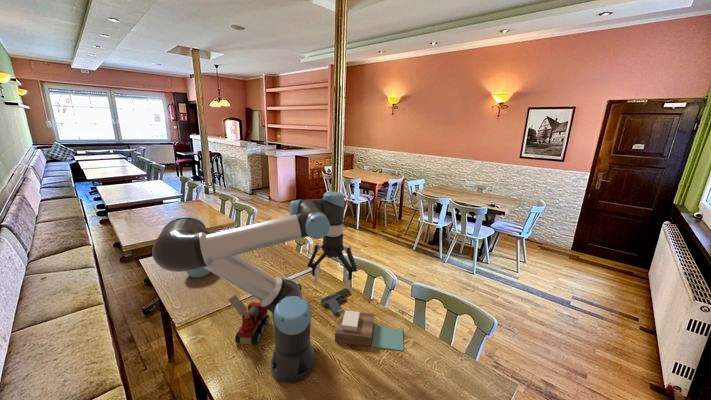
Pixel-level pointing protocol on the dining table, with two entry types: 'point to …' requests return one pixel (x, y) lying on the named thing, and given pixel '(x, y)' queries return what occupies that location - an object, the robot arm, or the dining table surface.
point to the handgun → (335, 301)
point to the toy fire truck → (250, 321)
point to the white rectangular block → (350, 320)
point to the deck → (356, 337)
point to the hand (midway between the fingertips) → (331, 284)
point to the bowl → (198, 272)
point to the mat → (387, 338)
